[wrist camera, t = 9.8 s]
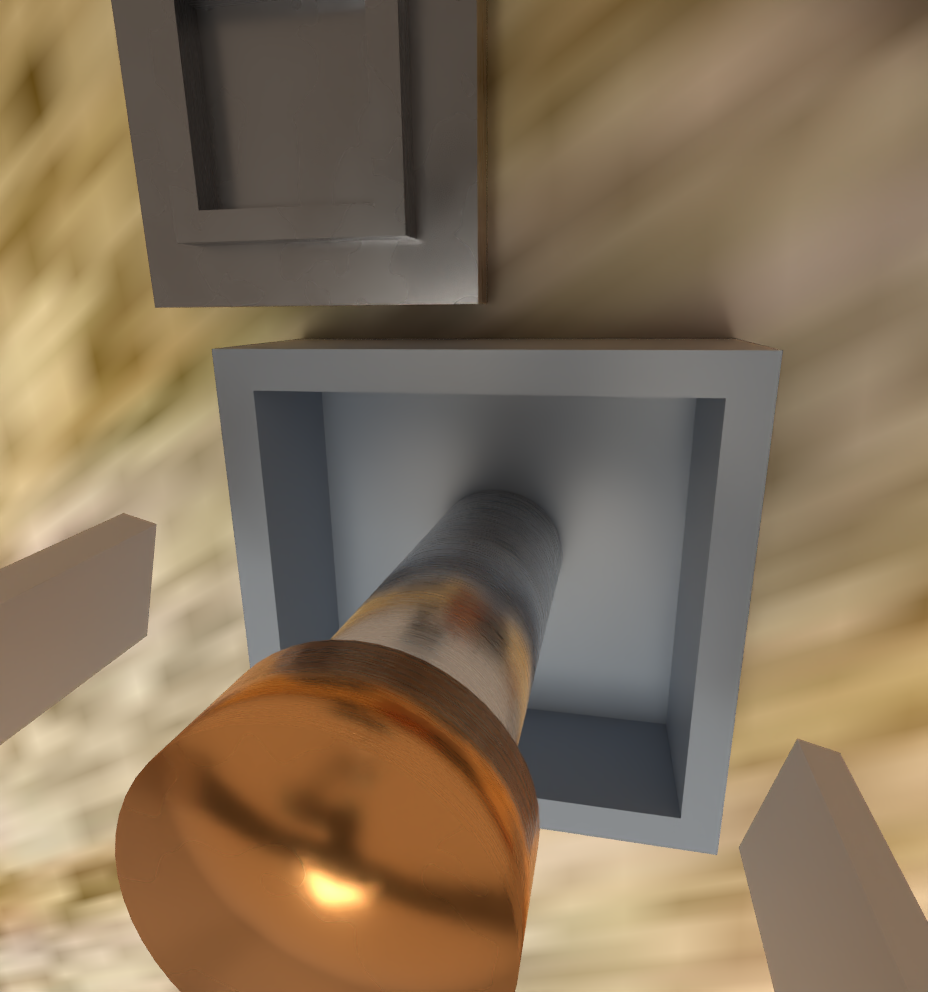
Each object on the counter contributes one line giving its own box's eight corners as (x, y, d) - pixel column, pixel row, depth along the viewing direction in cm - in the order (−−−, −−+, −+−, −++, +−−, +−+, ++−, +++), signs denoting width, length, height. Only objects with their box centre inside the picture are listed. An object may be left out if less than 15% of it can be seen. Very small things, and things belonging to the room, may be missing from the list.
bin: (301, 338, 20) (211, 348, 16) (734, 338, 18) (782, 350, 13) (330, 693, 24) (264, 787, 19) (691, 734, 21) (717, 855, 17)
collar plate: (137, -63, 18) (67, -118, 16) (487, -112, 16) (467, -184, 14) (185, 307, 21) (132, 307, 18) (487, 303, 19) (470, 303, 16)
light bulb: (388, 516, 20) (44, 802, 8) (529, 439, 19) (360, 655, 6) (469, 651, 21) (259, 1109, 9) (613, 588, 19) (603, 1047, 7)
